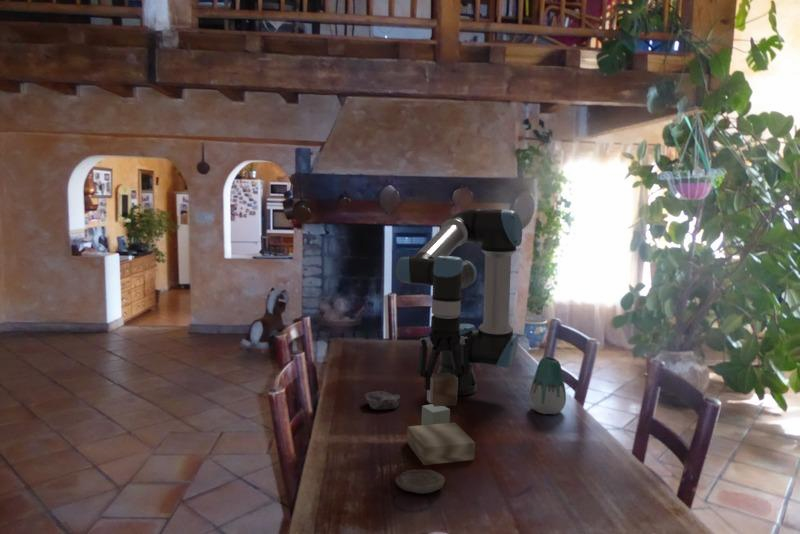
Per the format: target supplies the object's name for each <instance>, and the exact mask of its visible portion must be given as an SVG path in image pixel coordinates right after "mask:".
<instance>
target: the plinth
mask: <svg viewBox="0 0 800 534" xmlns="http://www.w3.org/2000/svg"><path fill="white" fill-rule="evenodd" d="M406 432H407V434H406V435H407V436H406V443H407V445H408V446H409V447H410V448H411V450H412V451H413V452H414V454H415V455H416V457H417V458H418V459H419V461H420V462H421V463H422V465H423V466H428V465H436V464H438V465H439V464H447V463H455V462H456V463H457V462H465V461H474V460H475V455H476V454H475V451H476V441H474V440H473V439H472V437H470V436H469V435H468V434H467V433H466V432H465V431H464V430H463V429H462V428H461V427H460V426H459V425H458V424H457V423H456V422H450V423H442V424H431V425H411V426H407V431H406Z"/></svg>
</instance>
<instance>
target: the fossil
mask: <svg viewBox="0 0 800 534" xmlns="http://www.w3.org/2000/svg"><path fill="white" fill-rule="evenodd" d="M445 480H446V479H445V476H444V475H442V474H441V473H439V472H437V471H435V470H432V469H410V470H406V471H403V472H402V473H400V474H399V475H398V476H396V477H395V483H396V485H397V486H398V488H400V489H402V490H403V491H405V492H410V493H415V494H430V493H435V492H436V491H438V490H441V489H442V488H443V487H444V484H445V482H446V481H445Z"/></svg>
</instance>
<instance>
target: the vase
mask: <svg viewBox="0 0 800 534" xmlns="http://www.w3.org/2000/svg"><path fill="white" fill-rule="evenodd" d="M535 370H536V371H535V373H534V376H533V379H532V382H531V385H530V388H529V393H528V401H529V404H530V406H531V408H532V409H533V410H534V411H535V412H537V413H538V412H539V413H538V414H541V413H542V414H541V415H546V414H554V415H557V414H559V413H561V412H562V411H563V409H564V408H565V406H566V403H567V393H566V385H565V382H564V378H563V370H562V365H561V363H560V362H559V360H558V359H556V358H554V357H551V356H543V357H541V359H540V360H539V362H538V364H537V367H536V369H535Z"/></svg>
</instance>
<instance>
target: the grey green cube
mask: <svg viewBox="0 0 800 534" xmlns="http://www.w3.org/2000/svg"><path fill="white" fill-rule="evenodd" d="M450 419H451V409H450V408H449V407H448V406H435V407H434V405H433V404H432V403H429V404H425V405H422V406H421V421H420V422H421V425H431V424H442V423H451V422H450V421H451V420H450Z"/></svg>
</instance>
